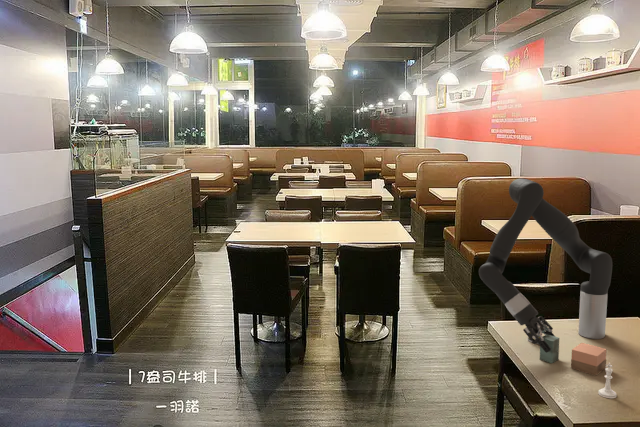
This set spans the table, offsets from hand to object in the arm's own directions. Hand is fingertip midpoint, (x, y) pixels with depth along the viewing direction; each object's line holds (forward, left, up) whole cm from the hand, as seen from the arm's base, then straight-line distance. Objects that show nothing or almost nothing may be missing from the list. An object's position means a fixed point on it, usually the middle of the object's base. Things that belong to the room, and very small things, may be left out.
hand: (553, 347), depth 188 cm
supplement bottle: (-12, -13, -5) cm, 18 cm away
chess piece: (+11, +23, -5) cm, 26 cm away
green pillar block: (0, -1, -5) cm, 5 cm away
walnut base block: (-3, +11, -5) cm, 12 cm away
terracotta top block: (-3, +11, -2) cm, 11 cm away
